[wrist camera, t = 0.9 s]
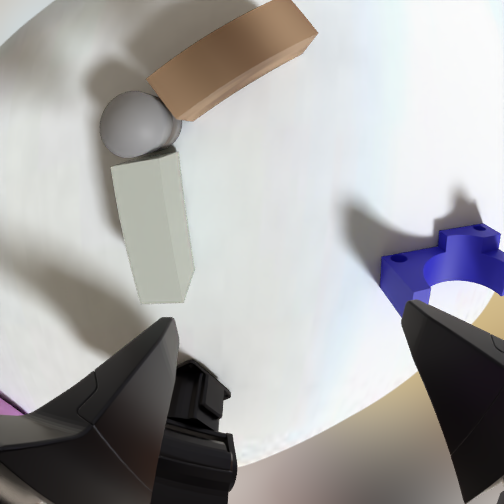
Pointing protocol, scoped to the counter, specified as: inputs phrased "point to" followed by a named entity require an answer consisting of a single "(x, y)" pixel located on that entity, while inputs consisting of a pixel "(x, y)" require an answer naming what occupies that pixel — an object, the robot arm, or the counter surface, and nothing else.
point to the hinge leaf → (149, 197)
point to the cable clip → (444, 265)
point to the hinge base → (230, 60)
